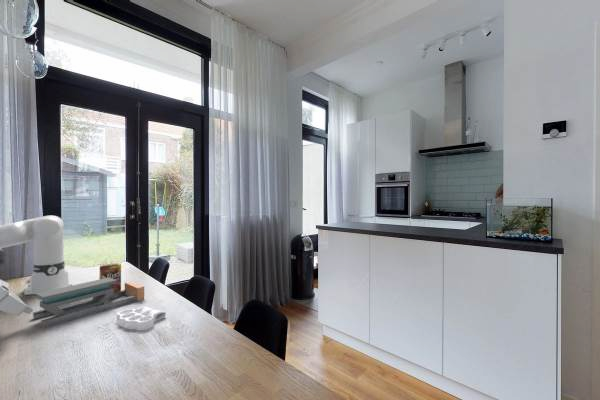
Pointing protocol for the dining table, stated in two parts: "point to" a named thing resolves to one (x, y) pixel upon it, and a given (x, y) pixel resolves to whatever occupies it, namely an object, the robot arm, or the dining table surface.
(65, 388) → the dining table surface
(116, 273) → the candy box
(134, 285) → the end stop
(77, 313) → the guide track
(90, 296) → the sharpening stone
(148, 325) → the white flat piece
